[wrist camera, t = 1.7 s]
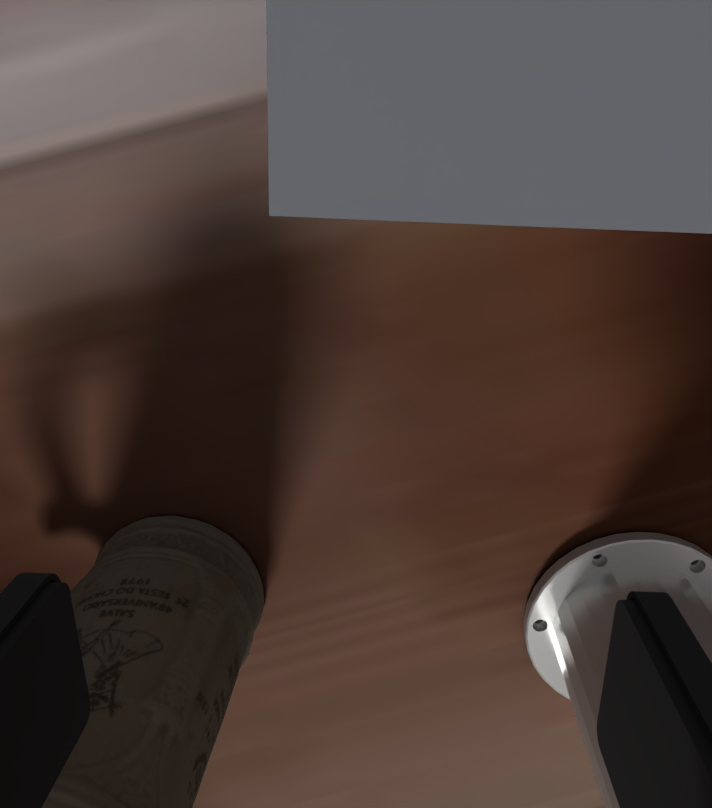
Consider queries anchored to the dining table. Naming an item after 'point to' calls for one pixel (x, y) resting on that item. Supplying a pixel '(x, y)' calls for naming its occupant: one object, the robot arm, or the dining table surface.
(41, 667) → the robot arm
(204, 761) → the beer stein
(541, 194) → the grey cabinet
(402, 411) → the dining table surface
